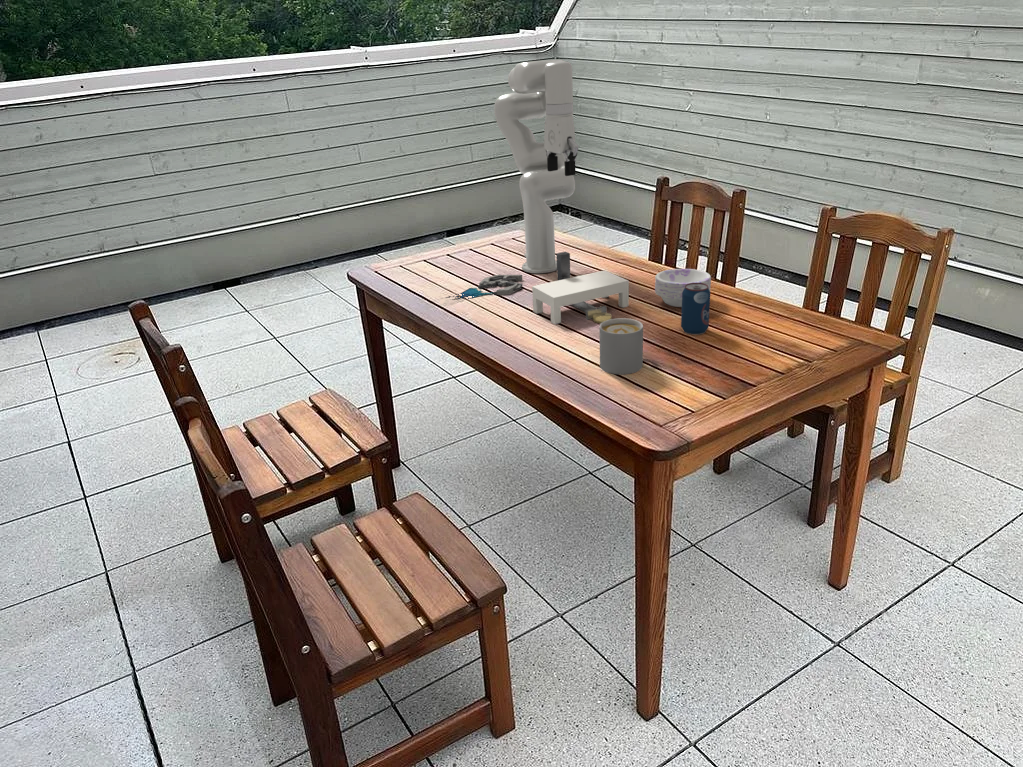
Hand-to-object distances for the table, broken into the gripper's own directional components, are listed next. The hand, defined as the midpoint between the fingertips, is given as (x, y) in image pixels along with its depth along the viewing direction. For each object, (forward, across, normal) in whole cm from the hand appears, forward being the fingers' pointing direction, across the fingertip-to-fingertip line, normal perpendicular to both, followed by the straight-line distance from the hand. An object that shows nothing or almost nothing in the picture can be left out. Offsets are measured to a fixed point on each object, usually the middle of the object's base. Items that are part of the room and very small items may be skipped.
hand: (561, 173), depth 221 cm
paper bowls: (+35, +31, +20) cm, 51 cm away
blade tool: (+34, +18, -6) cm, 39 cm away
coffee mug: (+34, +57, -17) cm, 69 cm away
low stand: (+34, +19, -6) cm, 40 cm away
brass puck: (+35, +30, -6) cm, 46 cm away
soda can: (+34, +50, +9) cm, 61 cm away
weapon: (+35, -12, -24) cm, 44 cm away
